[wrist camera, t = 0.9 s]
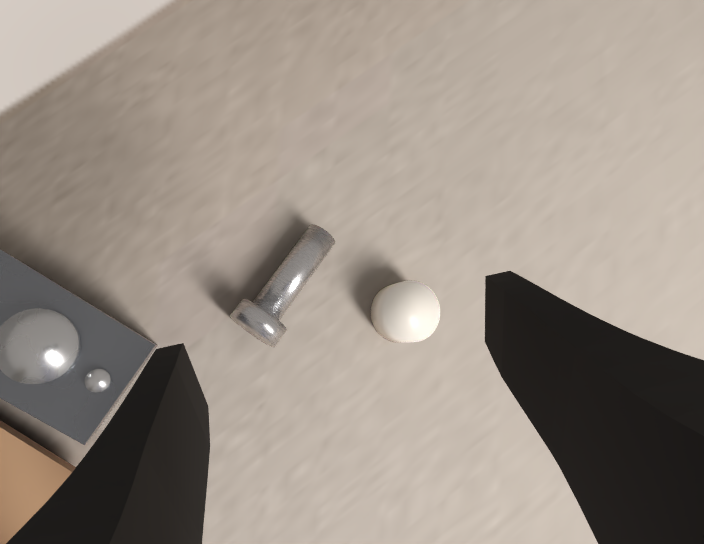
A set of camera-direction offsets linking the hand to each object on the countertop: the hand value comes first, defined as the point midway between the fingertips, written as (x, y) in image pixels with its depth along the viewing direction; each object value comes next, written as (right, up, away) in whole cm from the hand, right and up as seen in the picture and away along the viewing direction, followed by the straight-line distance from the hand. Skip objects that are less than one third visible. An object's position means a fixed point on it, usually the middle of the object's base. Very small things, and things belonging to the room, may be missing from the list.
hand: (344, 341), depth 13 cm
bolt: (-3, +1, +15) cm, 16 cm away
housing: (-13, -2, +12) cm, 18 cm away
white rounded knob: (+3, -1, +17) cm, 17 cm away
